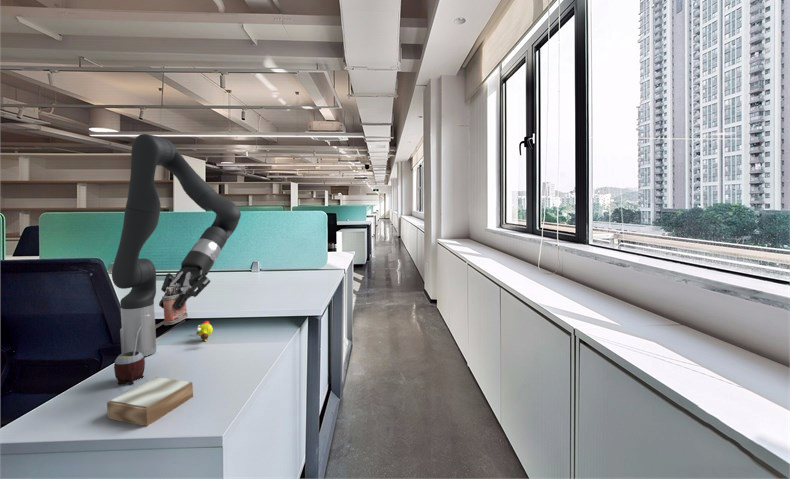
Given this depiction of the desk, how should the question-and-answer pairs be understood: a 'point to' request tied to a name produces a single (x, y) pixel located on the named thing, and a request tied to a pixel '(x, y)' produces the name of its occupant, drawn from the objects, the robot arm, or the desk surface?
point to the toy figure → (204, 330)
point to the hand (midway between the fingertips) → (169, 307)
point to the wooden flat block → (149, 401)
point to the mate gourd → (130, 365)
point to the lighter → (168, 300)
